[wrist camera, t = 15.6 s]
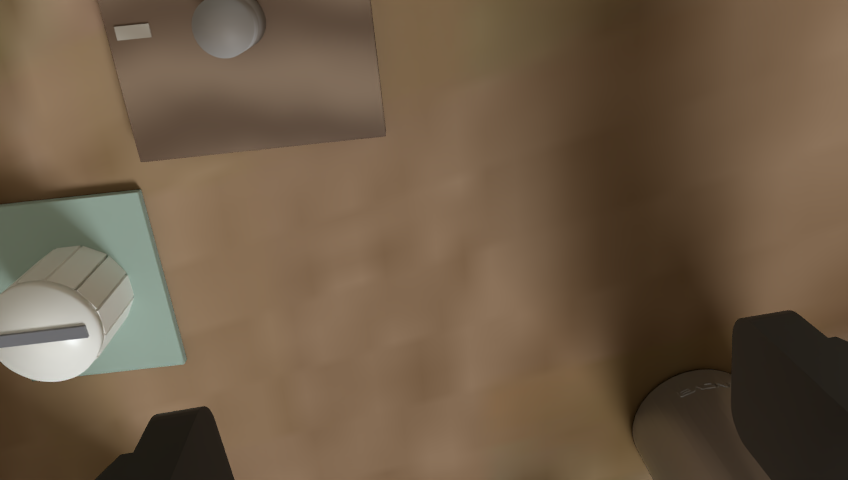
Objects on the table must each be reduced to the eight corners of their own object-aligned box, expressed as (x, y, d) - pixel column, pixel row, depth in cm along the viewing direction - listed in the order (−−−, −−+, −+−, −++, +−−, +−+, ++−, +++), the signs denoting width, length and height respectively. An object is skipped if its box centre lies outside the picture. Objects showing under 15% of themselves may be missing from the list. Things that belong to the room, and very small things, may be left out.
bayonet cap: (117, 240, 41) (78, 282, 35) (143, 326, 43) (110, 377, 38) (18, 252, 41) (-35, 295, 35) (49, 337, 43) (3, 389, 38)
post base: (385, 130, 40) (386, 155, 34) (149, 155, 39) (113, 184, 34) (354, -138, 34) (349, -157, 29) (79, -112, 34) (25, -125, 29)
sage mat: (186, 359, 45) (184, 364, 44) (36, 376, 45) (32, 381, 44) (140, 189, 40) (137, 192, 40) (-27, 207, 40) (-33, 210, 39)
